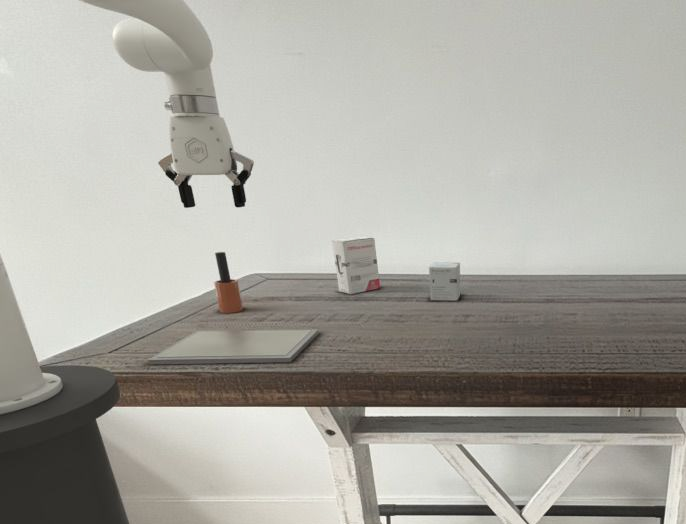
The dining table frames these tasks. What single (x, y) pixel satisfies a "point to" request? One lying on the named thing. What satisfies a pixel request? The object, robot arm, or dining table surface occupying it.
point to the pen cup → (228, 296)
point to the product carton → (444, 281)
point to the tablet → (237, 347)
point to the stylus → (223, 267)
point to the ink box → (356, 264)
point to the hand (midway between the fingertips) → (215, 207)
